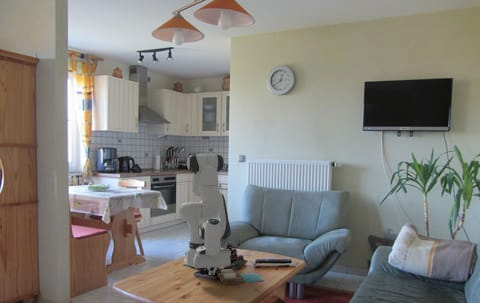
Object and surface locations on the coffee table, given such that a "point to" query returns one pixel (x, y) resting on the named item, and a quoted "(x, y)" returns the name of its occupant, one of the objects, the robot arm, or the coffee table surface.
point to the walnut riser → (231, 279)
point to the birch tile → (228, 273)
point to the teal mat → (251, 277)
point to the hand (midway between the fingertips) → (211, 274)
